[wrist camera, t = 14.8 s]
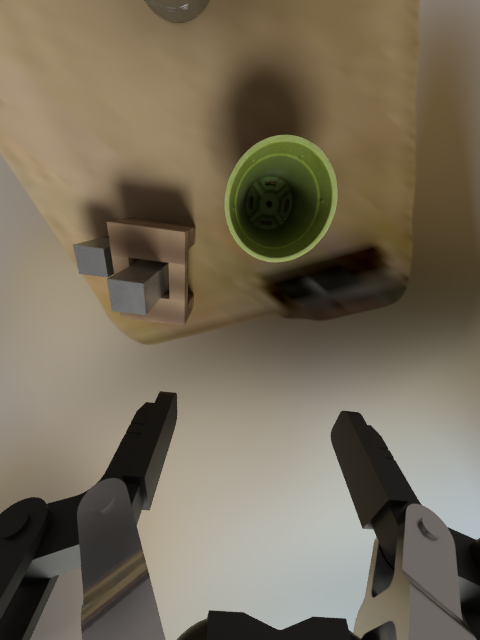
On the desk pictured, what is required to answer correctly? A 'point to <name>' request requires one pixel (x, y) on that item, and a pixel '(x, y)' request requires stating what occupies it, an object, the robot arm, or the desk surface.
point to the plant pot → (281, 198)
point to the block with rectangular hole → (161, 246)
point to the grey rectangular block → (94, 257)
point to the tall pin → (138, 286)
